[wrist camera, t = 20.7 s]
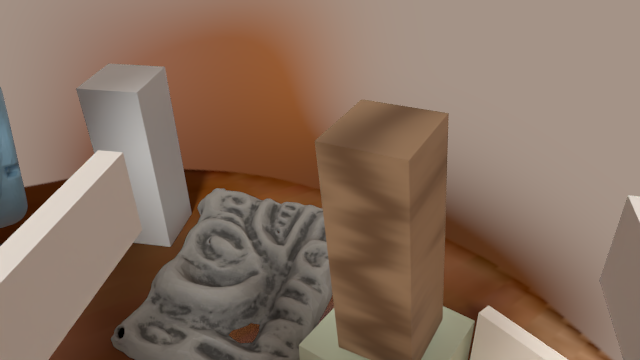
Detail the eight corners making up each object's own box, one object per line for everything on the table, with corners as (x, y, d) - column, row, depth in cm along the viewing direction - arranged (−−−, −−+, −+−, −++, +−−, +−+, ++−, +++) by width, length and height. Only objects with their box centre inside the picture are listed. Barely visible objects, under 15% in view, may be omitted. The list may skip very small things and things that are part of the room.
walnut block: (338, 347, 43) (314, 140, 34) (373, 296, 47) (361, 99, 38) (411, 376, 40) (409, 160, 31) (442, 319, 45) (448, 113, 35)
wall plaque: (212, 200, 69) (208, 173, 67) (365, 230, 63) (365, 201, 61) (86, 350, 50) (75, 319, 48) (287, 409, 45) (284, 377, 43)
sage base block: (301, 386, 46) (298, 345, 44) (366, 311, 53) (368, 271, 50) (410, 454, 41) (415, 412, 39) (467, 362, 48) (474, 320, 45)
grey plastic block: (119, 241, 62) (76, 88, 52) (143, 208, 67) (108, 63, 57) (170, 246, 61) (136, 92, 51) (191, 213, 66) (164, 66, 56)
